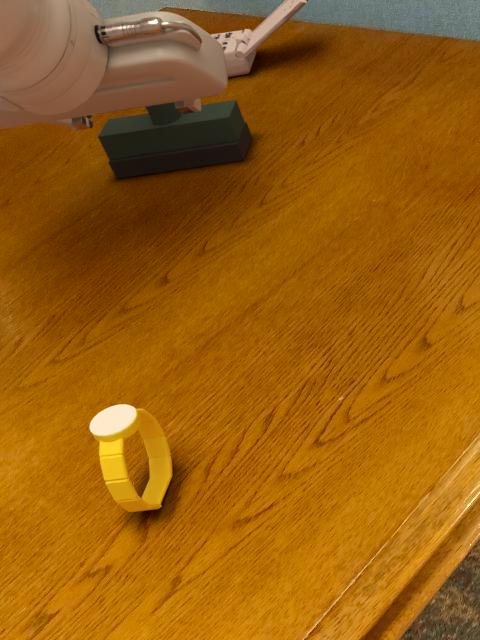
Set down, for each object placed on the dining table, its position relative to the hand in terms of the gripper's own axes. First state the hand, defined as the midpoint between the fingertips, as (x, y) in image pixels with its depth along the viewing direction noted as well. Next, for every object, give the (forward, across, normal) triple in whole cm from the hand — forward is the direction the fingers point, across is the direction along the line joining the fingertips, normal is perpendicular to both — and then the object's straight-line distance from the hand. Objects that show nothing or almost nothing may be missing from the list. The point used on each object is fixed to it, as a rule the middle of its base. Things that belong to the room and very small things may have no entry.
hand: (138, 111), depth 82 cm
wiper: (+8, 0, +1) cm, 8 cm away
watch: (-22, -9, +32) cm, 40 cm away
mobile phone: (+21, +2, -11) cm, 24 cm away
